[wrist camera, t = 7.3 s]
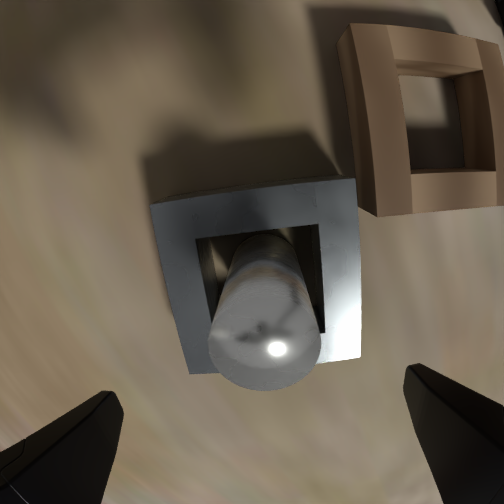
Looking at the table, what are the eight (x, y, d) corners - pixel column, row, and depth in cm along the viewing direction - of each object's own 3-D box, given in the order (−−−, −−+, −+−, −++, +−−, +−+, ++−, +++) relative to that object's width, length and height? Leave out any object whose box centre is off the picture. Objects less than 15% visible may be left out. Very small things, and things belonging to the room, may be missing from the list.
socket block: (469, 55, 15) (498, 44, 12) (486, 196, 18) (517, 204, 14) (335, 44, 16) (349, 22, 12) (358, 206, 18) (377, 217, 15)
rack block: (338, 174, 18) (355, 178, 15) (347, 328, 21) (360, 356, 17) (169, 196, 19) (149, 204, 15) (199, 343, 21) (189, 374, 18)
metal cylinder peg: (294, 230, 19) (318, 290, 10) (300, 292, 20) (322, 384, 11) (227, 238, 19) (197, 303, 11) (237, 299, 20) (219, 393, 12)
